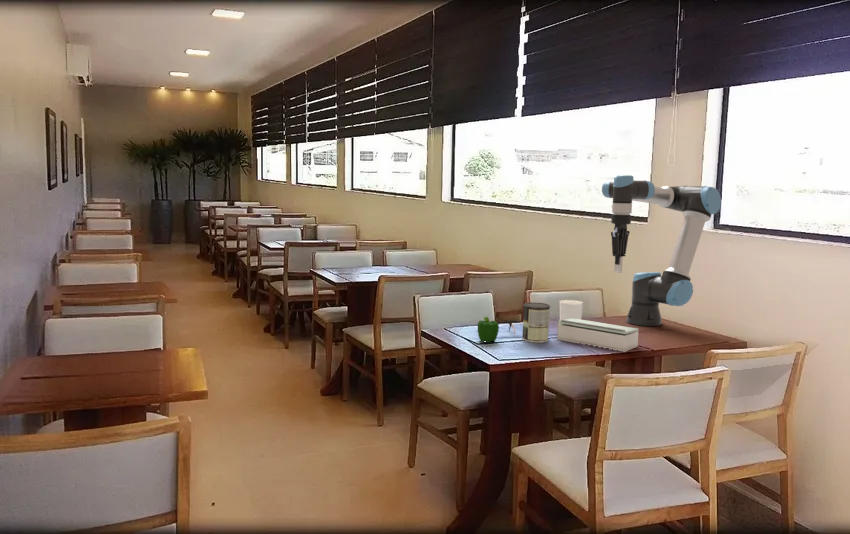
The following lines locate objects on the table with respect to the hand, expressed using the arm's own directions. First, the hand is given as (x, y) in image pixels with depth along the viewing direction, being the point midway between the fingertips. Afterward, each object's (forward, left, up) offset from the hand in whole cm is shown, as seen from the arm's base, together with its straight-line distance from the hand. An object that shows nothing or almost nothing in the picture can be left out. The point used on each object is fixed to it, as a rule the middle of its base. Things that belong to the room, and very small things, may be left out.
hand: (617, 272), depth 277 cm
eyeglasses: (+31, -37, -27) cm, 56 cm away
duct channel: (+16, 0, -26) cm, 31 cm away
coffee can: (+29, -20, -27) cm, 44 cm away
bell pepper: (+45, -32, -27) cm, 61 cm away
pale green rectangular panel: (+16, 0, -20) cm, 26 cm away
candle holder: (+2, -19, -27) cm, 33 cm away
